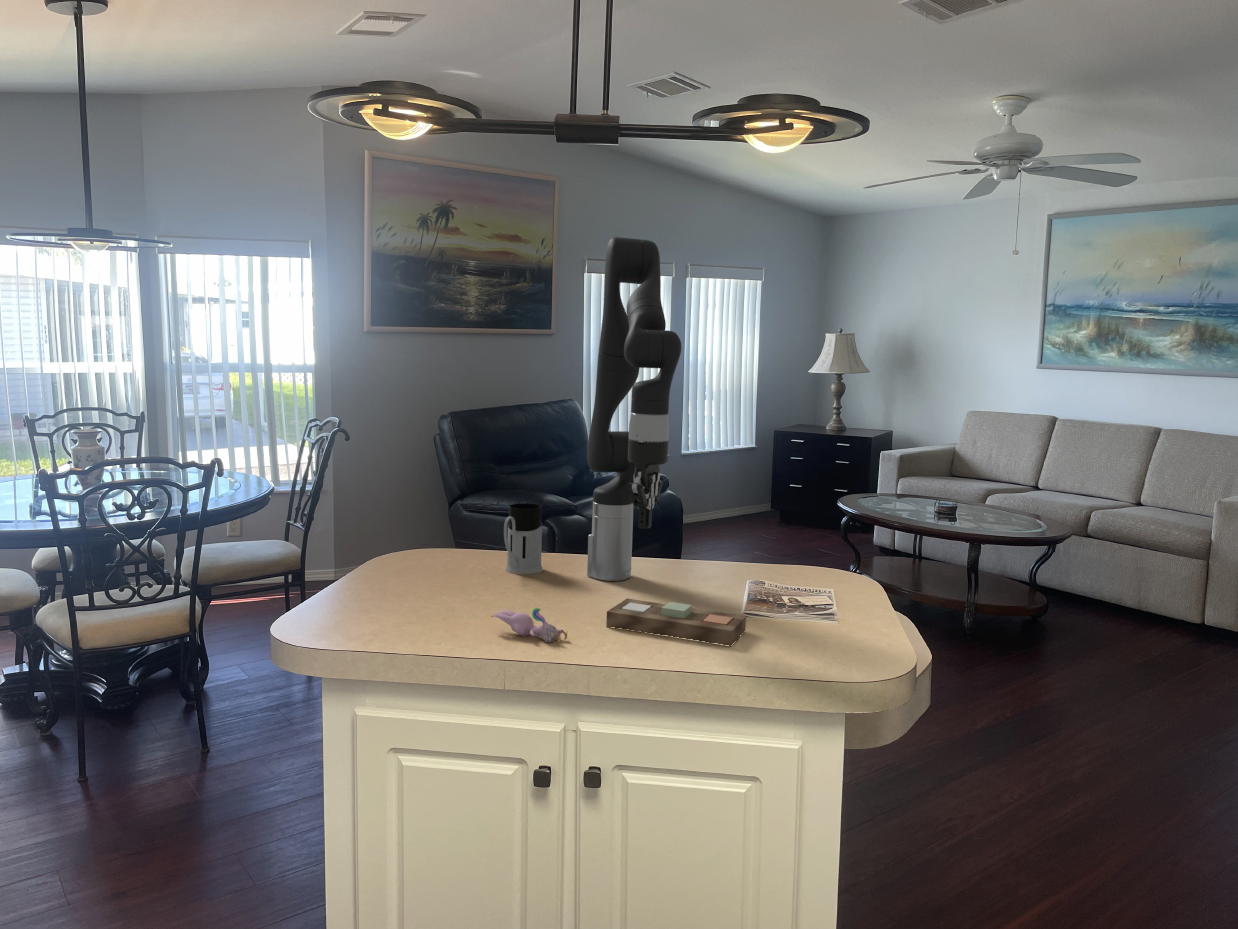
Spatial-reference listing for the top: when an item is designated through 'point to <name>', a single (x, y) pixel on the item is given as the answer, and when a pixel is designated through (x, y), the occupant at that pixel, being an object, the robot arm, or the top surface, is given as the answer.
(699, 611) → the button panel
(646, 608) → the offwhite button
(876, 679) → the top surface
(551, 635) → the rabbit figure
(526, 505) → the glass holder
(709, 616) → the terracotta button
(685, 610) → the sage button
